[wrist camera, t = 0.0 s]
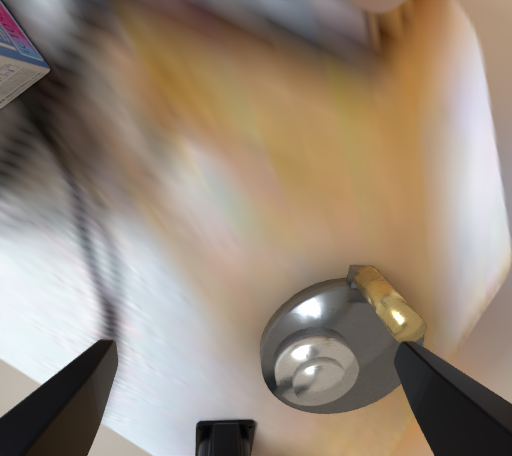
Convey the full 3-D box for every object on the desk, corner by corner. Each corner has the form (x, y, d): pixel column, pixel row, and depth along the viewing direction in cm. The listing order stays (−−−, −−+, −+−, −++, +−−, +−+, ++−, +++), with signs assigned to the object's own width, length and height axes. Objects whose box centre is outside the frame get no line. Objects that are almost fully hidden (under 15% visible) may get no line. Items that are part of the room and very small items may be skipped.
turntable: (389, 398, 31) (436, 481, 24) (252, 401, 29) (260, 492, 22) (442, 260, 24) (526, 319, 17) (271, 253, 23) (291, 315, 16)
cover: (340, 385, 27) (352, 413, 24) (268, 386, 26) (273, 416, 24) (357, 326, 24) (372, 352, 22) (277, 326, 24) (284, 352, 21)
